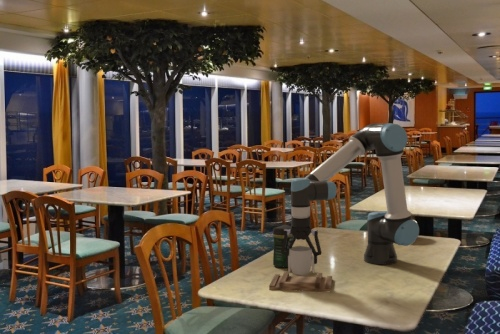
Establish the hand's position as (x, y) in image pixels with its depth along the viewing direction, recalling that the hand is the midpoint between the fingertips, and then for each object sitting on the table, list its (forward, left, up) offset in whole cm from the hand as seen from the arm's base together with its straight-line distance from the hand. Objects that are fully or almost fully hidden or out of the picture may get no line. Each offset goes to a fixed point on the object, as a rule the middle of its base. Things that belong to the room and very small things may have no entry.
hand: (301, 271), depth 224 cm
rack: (0, +1, -5) cm, 5 cm away
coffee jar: (+11, -27, -5) cm, 29 cm away
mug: (-1, 0, 0) cm, 1 cm away
